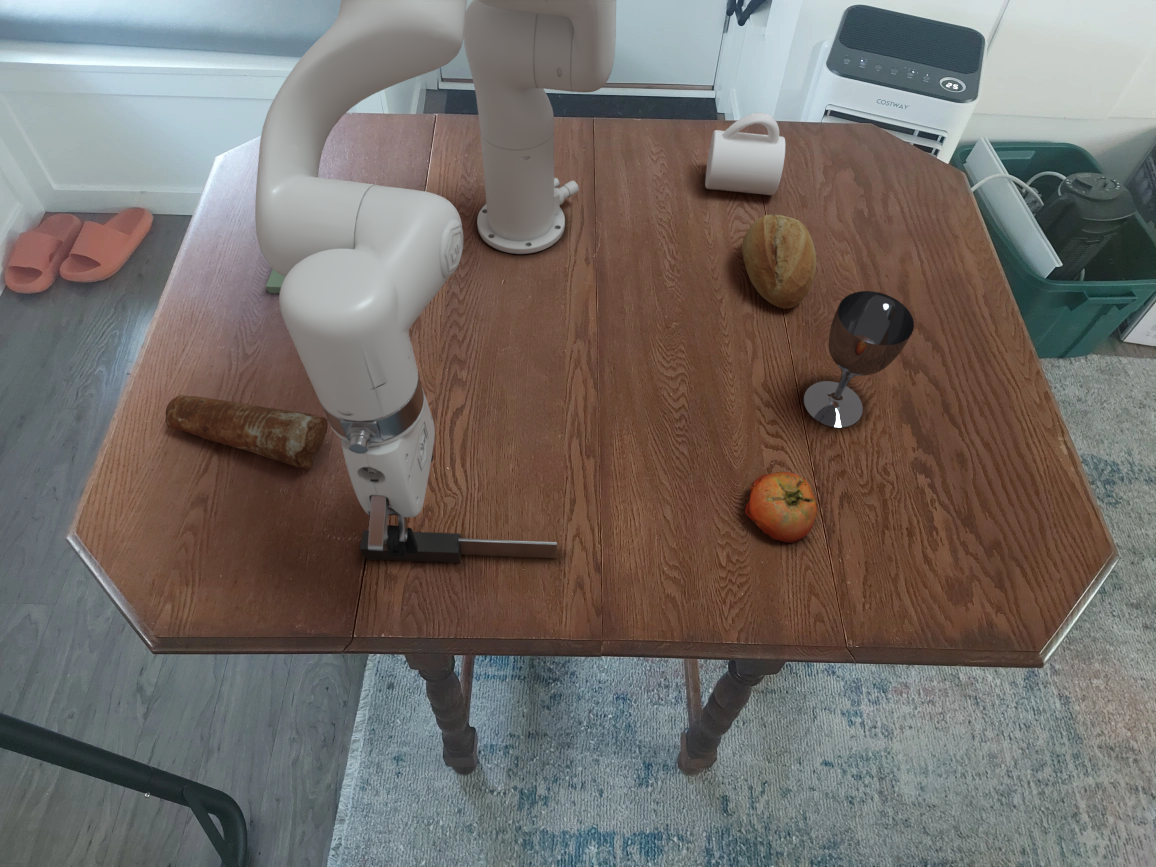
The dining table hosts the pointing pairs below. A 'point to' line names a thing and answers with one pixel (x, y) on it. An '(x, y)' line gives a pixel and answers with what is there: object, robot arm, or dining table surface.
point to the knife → (462, 548)
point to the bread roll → (780, 259)
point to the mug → (746, 157)
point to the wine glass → (858, 353)
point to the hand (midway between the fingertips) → (409, 503)
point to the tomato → (782, 506)
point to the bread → (250, 427)
